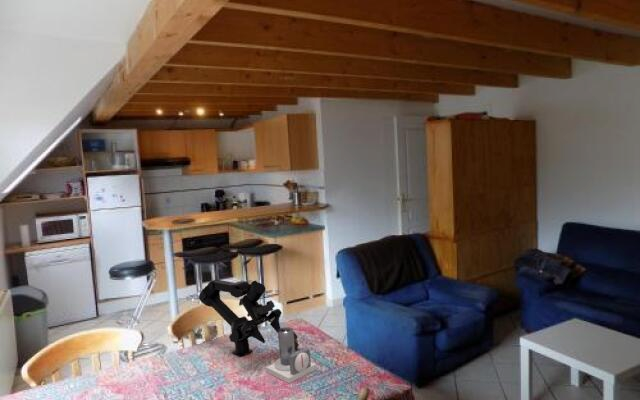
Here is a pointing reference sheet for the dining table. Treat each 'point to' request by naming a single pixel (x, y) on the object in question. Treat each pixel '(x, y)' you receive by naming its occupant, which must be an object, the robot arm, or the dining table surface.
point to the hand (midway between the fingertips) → (273, 338)
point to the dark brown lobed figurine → (295, 341)
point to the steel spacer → (286, 344)
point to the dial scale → (293, 367)
